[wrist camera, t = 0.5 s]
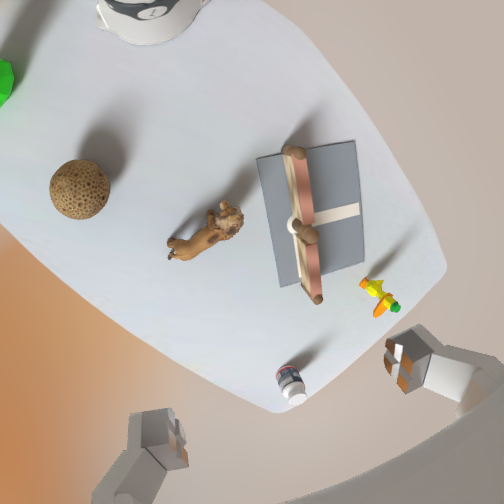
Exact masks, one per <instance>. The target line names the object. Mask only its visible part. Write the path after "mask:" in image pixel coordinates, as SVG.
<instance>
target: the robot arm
mask: <svg viewBox="0 0 504 504" xmlns="http://www.w3.org/2000/svg"><path fill="white" fill-rule="evenodd" d="M209 1H210V0H98V2H97V9H96V18H95V25H96V27H97V28H98V29H101V30H105V31H110V32H113V33H114V34H116V35H117V36H118V37H119V38H121V39H122V40H124V41H126V42H129V43H132V44H136V45H154V44H159V43H162V42H165V41H168V40H170V39H172V38H174V37H176V36H178V35H179V34H181V33H182V32H183V31H184V30H185V29H186V28H187V27H188V26H189V25H190V24H191V23H192V21H193V20H194V18H195V16H196V14H197V12H198V11H199V10H200V9H201V8H202V7H203V6H205V5H206V4H207V3H208V2H209ZM385 347H386V348H387V349H388V350H387V351H386V353H385V354H384V364H385V368H386V370H387V371H388V373H389V374H390V376H393V377H396V378H397V384H398V386H399V387H400V388H401V389H402V391H403V392H404V393H405V394H407V393H409V392H411V391H413V390H415V389H417V388H419V387H421V386H422V385H423V387H425V388H427V389H430V390H432V391H434V392H437V393H439V394H441V395H443V396H446V397H448V398H450V399H453V400H455V401H457V402H460V403H459V405H458V408H457V410H456V412H455V416H456V417H457V418H458V419H457V420H456V421H455V422H453V423H452V424H450V425H449V426H447V427H446V428H444V429H443V430H441V431H440V432H438V433H437V434H435V435H433V436H432V437H430V438H429V439H427V440H425V441H424V442H422V443H420V444H419V445H417V446H415V447H413V448H412V449H410V450H408V451H406V452H404V453H403V454H401V455H399V456H397V457H395V458H393V459H391V460H389V461H387V462H386V463H383V464H381V465H379V466H377V467H375V468H373V469H371V470H369V471H367V472H364V473H362V474H360V475H358V476H355V477H353V478H351V479H348V480H346V481H343V482H341V483H339V484H336V485H333V486H331V487H328V488H325V489H323V490H320V491H317V492H314V493H311V494H308V495H305V496H302V497H299V498H296V499H293V500H290V501H286V502H283V503H279V504H504V365H503V364H502V363H501V362H500V361H499V360H498V359H497V358H496V357H494V356H490V355H486V354H481V353H478V352H474V351H469V350H465V349H461V348H458V347H454V346H450V345H446V346H444V345H443V344H442V343H441V342H439V341H438V340H437V339H436V338H435V337H434V336H433V335H432V334H431V333H430V332H429V331H428V330H427V329H426V328H424V327H423V326H422V325H421V324H417V325H415V326H413V327H411V328H409V329H406V330H404V331H402V332H401V333H398V334H396V335H394V336H392V337H390V338H388V339H387V340H386V343H385ZM127 442H128V443H127V450H123V452H122V453H121V454H120V456H119V457H118V459H117V460H116V461H115V463H114V464H113V465H112V467H111V468H110V469H109V471H108V472H107V473H106V475H105V476H104V477H103V479H102V480H101V481H100V483H99V484H98V486H97V487H96V488H95V490H94V491H93V492H92V501H91V502H92V503H91V504H152V502H153V501H154V499H155V497H156V495H157V492H158V491H159V489H160V487H161V484H162V482H163V480H164V478H165V476H166V474H167V471H170V470H176V469H182V468H187V467H189V464H188V455H187V452H186V450H185V449H184V448H183V447H184V445H185V444H186V437H185V433H184V429H183V427H182V425H181V423H180V421H179V420H178V419H175V416H174V412H173V410H172V409H171V408H164V409H158V410H152V411H145V412H138V413H132V414H130V417H129V424H128V441H127Z"/></svg>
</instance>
